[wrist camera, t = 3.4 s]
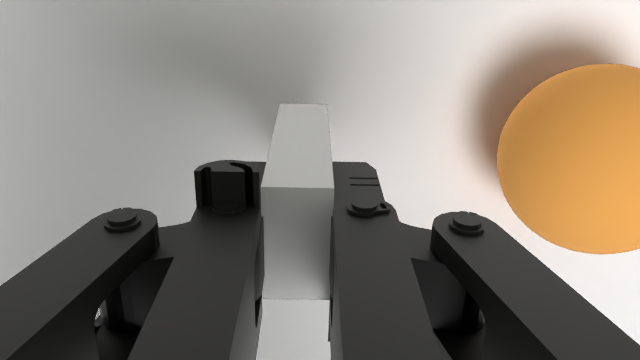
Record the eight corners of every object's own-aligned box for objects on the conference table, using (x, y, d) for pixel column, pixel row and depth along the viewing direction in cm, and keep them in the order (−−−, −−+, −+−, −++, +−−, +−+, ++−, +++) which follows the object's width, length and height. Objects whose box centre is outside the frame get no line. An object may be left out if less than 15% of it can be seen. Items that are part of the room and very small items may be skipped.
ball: (465, 203, 21) (521, 291, 15) (487, 47, 19) (562, 85, 13) (616, 205, 21) (725, 294, 16) (656, 51, 19) (801, 90, 13)
